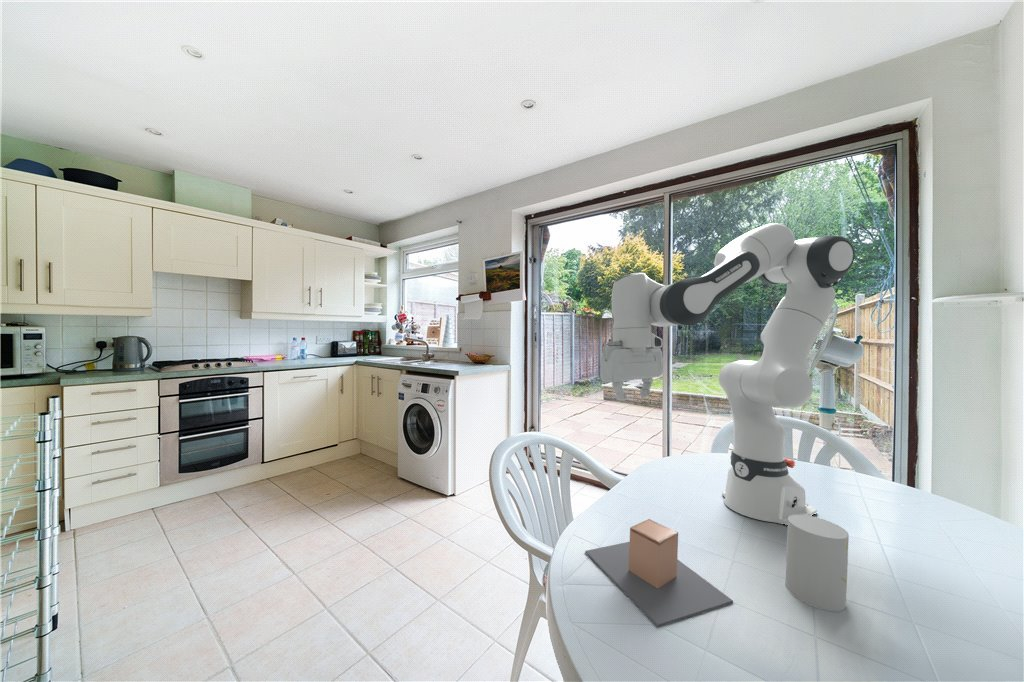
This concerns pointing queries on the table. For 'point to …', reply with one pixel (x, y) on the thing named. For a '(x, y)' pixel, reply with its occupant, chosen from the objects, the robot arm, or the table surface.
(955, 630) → the table surface
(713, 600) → the mat
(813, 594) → the white oval cylinder
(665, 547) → the light orange rectangular block
